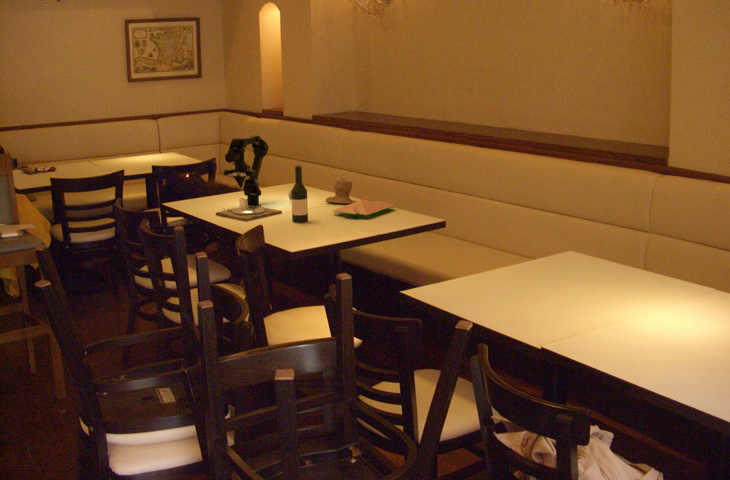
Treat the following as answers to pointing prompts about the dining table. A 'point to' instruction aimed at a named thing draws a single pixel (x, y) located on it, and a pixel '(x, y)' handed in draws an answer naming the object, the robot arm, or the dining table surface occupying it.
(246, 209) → the dial
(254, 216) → the board
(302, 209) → the wine bottle
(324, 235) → the dining table surface
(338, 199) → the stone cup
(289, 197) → the donut
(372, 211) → the house
